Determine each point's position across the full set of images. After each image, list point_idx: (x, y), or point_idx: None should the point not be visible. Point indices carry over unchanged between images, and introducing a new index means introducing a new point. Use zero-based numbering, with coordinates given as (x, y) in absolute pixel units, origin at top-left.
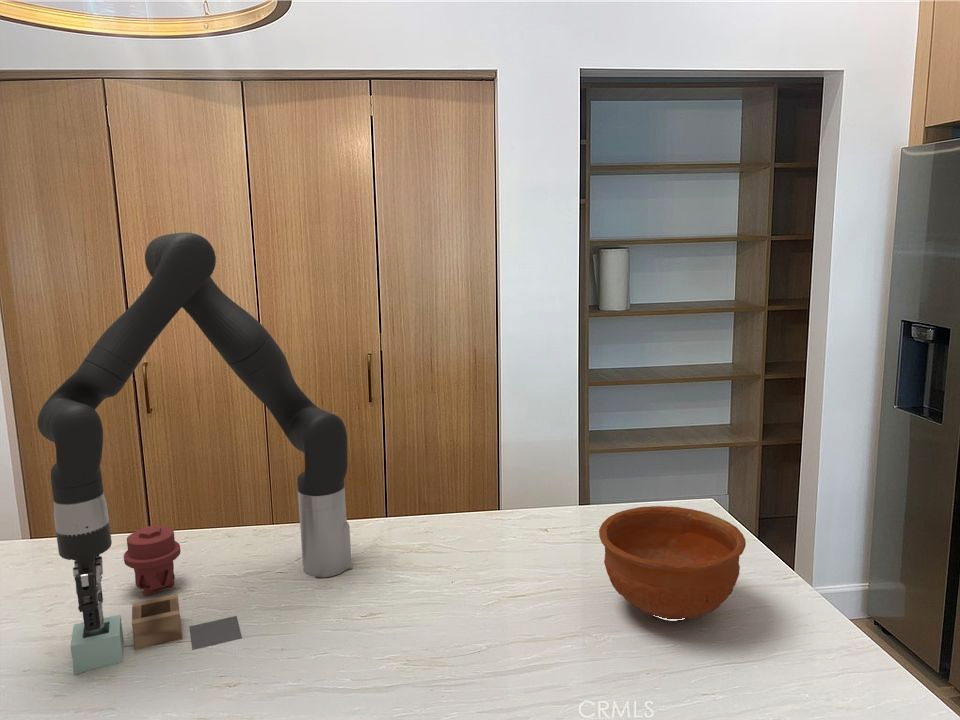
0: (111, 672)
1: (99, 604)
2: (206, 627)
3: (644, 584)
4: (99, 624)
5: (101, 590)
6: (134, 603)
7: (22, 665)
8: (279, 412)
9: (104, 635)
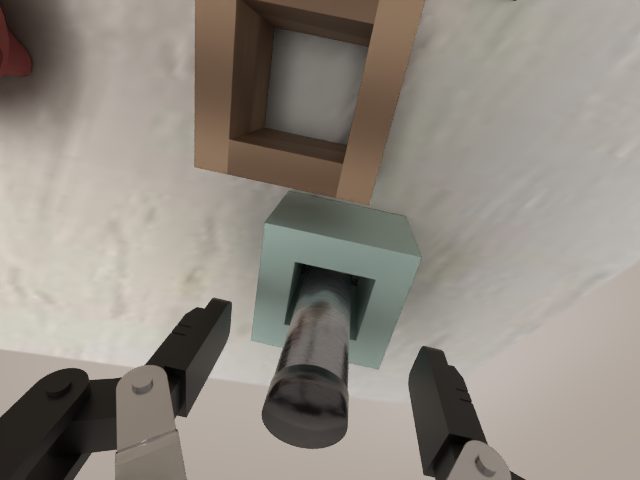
0: (428, 247)
1: (338, 367)
2: None
3: None
4: (444, 360)
5: (204, 339)
6: (199, 159)
7: (266, 368)
8: None
9: (385, 293)
